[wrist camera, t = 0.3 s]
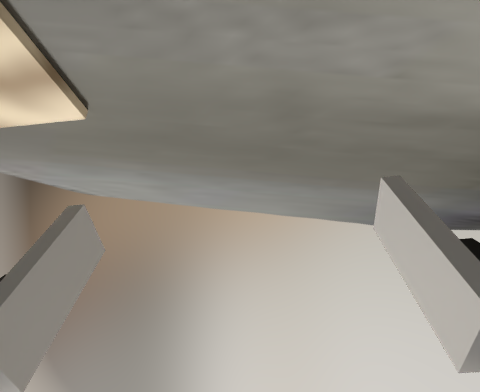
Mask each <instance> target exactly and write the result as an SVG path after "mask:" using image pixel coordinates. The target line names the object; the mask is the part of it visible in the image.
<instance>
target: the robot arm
mask: <svg viewBox="0 0 480 392" xmlns="http://www.w3.org/2000/svg"><path fill="white" fill-rule="evenodd" d="M374 230H375V232H376V234H377V235H378V237H379V239H380V241H381V242H382V244H383V246H384V247H385V249H386V251H387V252H388V254H389V256H390V257H391V259H392V261H393V263H394V264H395V266H396V268H397V270H398V271H399V273H400V274H401V276H402V278H403V280H404V281H405V283H406V285H407V287H408V288H409V290H410V292H411V293H412V295H413V297H414V298H415V300H416V302H417V304H418V305H419V307H420V309H421V310H422V312H423V314H424V315H425V317H426V319H427V321H428V322H429V323H430V325H431V327H432V329H433V331H434V332H435V334H436V336H437V337H438V339H439V341H440V343H441V344H442V346H443V348H444V349H445V351H446V353H447V354H448V356H449V358H450V360H451V361H452V363H453V365H454V366H455V368H456V370H457V371H458V373H469V372H480V243H479V242H478V241H476V240H474V239H473V238H469V239H458V237H457V236H456V235H455V234H454V233H453V232H452V231H451V230H450V229H449V228H448V227H447V226H446V225H445V223H444V222H443V221H442V220H441V219H440V218H439V217H438V216H437V215H436V214H435V213H434V212H433V211H432V210H431V208H430V207H429V206H428V205H427V204H426V203H425V202H424V201H423V200H422V199H421V198H420V197H419V196H418V195H417V194H416V192H415V191H414V190H413V189H412V188H411V187H410V186H409V185H408V184H407V183H406V182H405V181H404V180H403V179H402V177H401V176H390V177H381V182H380V188H379V195H378V202H377V208H376V215H375V222H374ZM104 252H105V248H104V246H103V244H102V242H101V240H100V237H99V235H98V233H97V231H96V229H95V227H94V224H93V222H92V220H91V218H90V216H89V213H88V211H87V209H86V207H85V205H74V206H68V207H67V208H66V209H65V210H64V211H63V212H62V214H61V215H60V216H59V217H58V218H57V219H56V220H55V221H54V223H53V224H52V225H51V226H50V227H49V228H48V229H47V230H46V232H45V233H44V234H43V235H42V236H41V237H40V238H39V239H38V240H37V241H36V243H35V244H34V245H33V246H32V247H31V248H30V249H29V251H27V253H26V254H25V255H24V256H23V257H22V258H21V259H20V260H19V262H18V263H17V264H16V265H15V266H14V267H13V268H12V269H11V270H10V272H9V273H8V274H6V275H4V276H3V277H1V278H0V392H24V390H25V388H26V386H27V385H28V383H29V381H30V380H31V378H32V376H33V374H34V373H35V371H36V369H37V368H38V366H39V364H40V362H41V361H42V359H43V357H44V355H45V354H46V352H47V350H48V348H49V347H50V345H51V343H52V342H53V340H54V338H55V336H56V335H57V333H58V331H59V329H60V328H61V326H62V324H63V323H64V321H65V319H66V317H67V316H68V314H69V312H70V310H71V309H72V307H73V305H74V303H75V302H76V300H77V298H78V297H79V295H80V293H81V291H82V290H83V288H84V286H85V285H86V283H87V281H88V279H89V278H90V276H91V274H92V272H93V271H94V269H95V267H96V266H97V264H98V262H99V260H100V259H101V257H102V255H103V253H104Z"/></svg>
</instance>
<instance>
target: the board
mask: <svg viewBox="0 0 480 392" xmlns="http://www.w3.org/2000/svg"><path fill="white" fill-rule="evenodd" d="M87 113H88V110H87V109H86V107H85V106H84V105H83V104H82V102H81V101H80V100H79V99H78V97H77V96H76V95H75V94H74V93H73V91H72V90H71V89H70V88H69V86H68V85H67V84H66V83H65V81H64V80H63V79H62V78H61V76H60V75H59V74H58V73H57V71H56V70H55V69H54V68H53V66H52V65H51V64H50V63H49V62H48V60H47V59H46V58H45V57H44V55H43V54H42V53H41V52H40V50H39V49H38V48H37V47H36V45H35V44H34V43H33V42H32V40H31V39H30V38H29V37H28V35H27V34H26V33H25V32H24V30H23V29H22V28H21V27H20V26H19V24H18V23H17V22H16V21H15V19H14V18H13V17H12V16H11V14H10V13H9V12H8V11H7V9H6V8H5V7H4V6H3V4H2V3H1V2H0V128H2V127H12V126H22V125H32V124H41V123H51V122H61V121H71V120H80V119H86V116H87Z"/></svg>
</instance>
